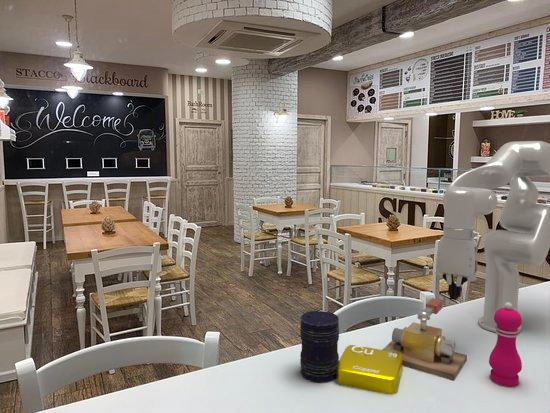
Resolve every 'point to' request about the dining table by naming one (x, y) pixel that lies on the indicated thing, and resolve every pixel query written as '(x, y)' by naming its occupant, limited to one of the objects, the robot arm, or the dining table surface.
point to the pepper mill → (506, 347)
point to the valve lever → (430, 309)
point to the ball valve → (423, 342)
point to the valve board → (433, 364)
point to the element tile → (370, 369)
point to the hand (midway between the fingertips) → (454, 298)
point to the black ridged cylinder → (319, 346)
